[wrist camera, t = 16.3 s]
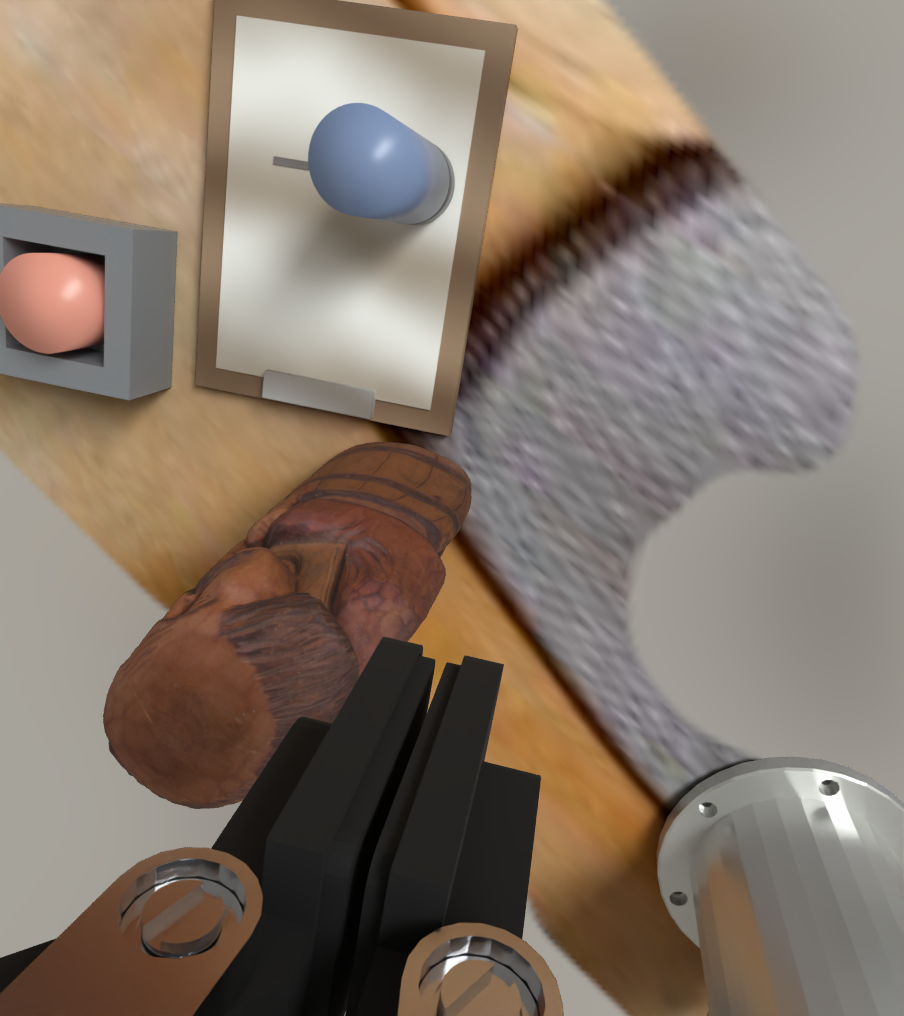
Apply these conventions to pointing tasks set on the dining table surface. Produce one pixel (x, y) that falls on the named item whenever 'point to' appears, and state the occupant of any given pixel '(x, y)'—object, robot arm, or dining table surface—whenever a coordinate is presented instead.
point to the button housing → (128, 302)
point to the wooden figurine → (285, 622)
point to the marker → (378, 167)
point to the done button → (54, 300)
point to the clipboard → (329, 233)
